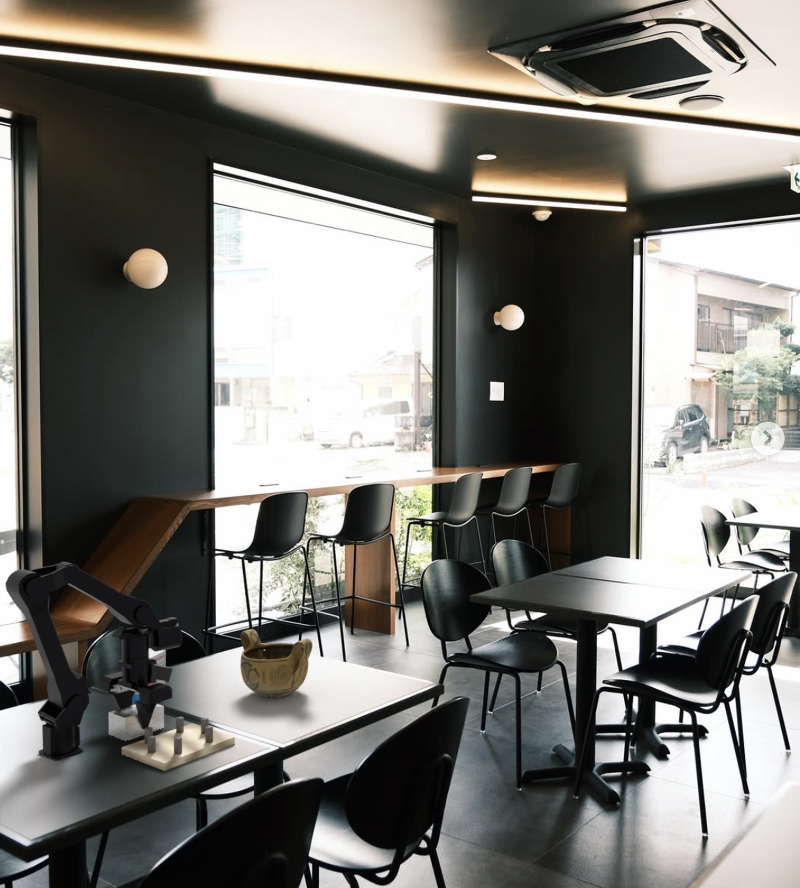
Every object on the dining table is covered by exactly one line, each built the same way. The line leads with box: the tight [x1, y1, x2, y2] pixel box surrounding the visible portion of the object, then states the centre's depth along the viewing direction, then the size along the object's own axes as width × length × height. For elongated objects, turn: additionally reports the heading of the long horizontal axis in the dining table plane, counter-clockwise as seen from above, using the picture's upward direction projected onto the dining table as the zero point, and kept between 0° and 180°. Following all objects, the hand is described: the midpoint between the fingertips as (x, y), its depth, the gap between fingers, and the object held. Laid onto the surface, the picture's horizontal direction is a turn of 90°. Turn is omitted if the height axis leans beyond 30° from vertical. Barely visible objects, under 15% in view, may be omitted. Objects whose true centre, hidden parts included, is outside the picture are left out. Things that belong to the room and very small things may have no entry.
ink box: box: [132, 648, 167, 705], centre depth 218 cm, size 8×5×12 cm, turn 168°
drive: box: [108, 703, 165, 742], centre depth 197 cm, size 10×6×5 cm, turn 142°
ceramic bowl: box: [239, 629, 313, 699], centre depth 223 cm, size 22×17×15 cm
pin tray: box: [121, 716, 236, 772], centre depth 186 cm, size 18×14×4 cm
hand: (136, 726), depth 197 cm, fingers closed on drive, 6 cm apart
